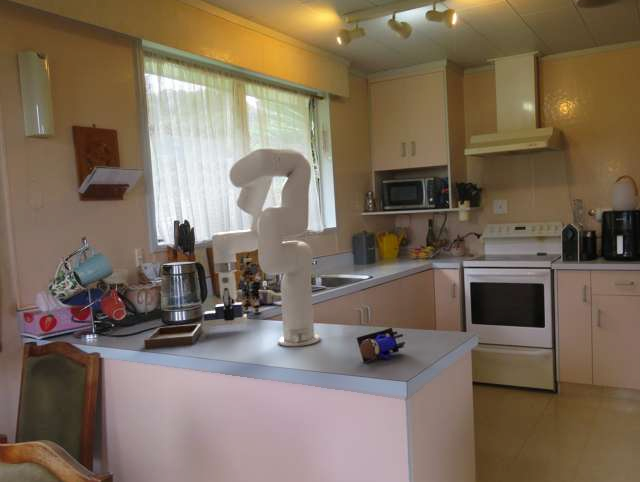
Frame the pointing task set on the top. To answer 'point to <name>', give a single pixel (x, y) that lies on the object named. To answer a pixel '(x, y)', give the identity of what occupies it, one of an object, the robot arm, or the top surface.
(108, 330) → the top surface
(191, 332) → the tray
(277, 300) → the decorative bottle
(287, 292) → the robot arm
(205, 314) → the navy stepped block
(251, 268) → the toy
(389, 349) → the character figurine
